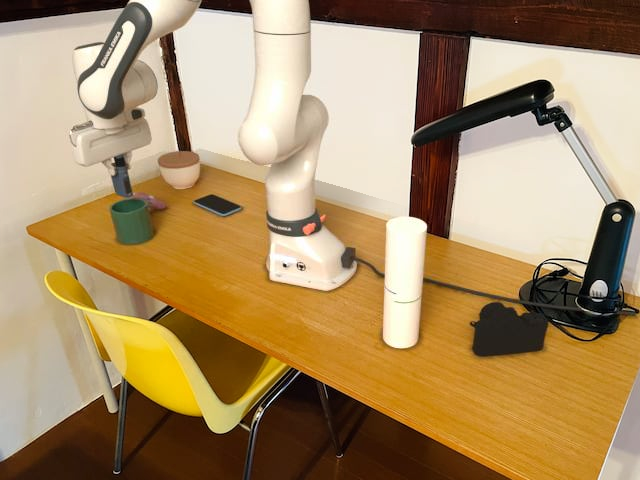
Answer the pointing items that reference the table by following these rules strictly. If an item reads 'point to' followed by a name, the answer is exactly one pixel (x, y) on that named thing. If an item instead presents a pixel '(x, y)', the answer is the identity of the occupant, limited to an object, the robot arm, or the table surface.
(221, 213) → the smartphone
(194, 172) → the lidded bowl
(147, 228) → the pen cup
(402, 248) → the cylindrical container
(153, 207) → the video game controller
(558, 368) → the table surface
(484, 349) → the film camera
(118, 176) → the vaping device
